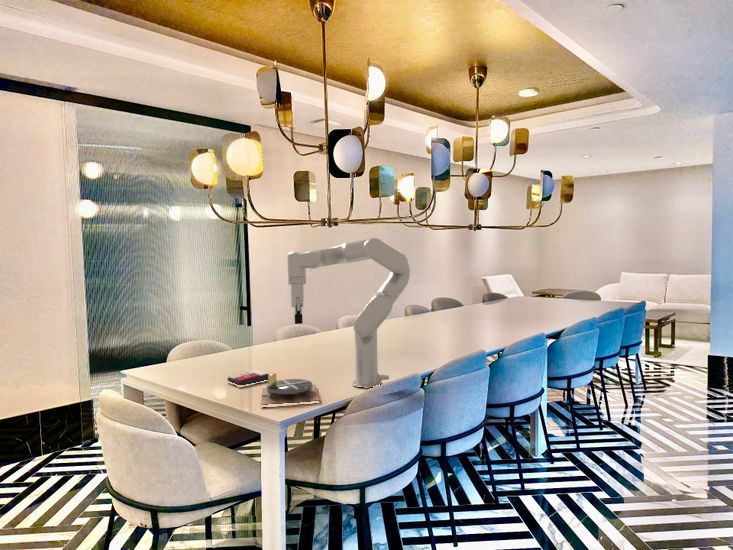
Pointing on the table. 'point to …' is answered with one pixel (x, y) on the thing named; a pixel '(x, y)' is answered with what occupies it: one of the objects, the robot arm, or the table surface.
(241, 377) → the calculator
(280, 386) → the handwheel
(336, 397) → the table surface
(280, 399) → the valve base
